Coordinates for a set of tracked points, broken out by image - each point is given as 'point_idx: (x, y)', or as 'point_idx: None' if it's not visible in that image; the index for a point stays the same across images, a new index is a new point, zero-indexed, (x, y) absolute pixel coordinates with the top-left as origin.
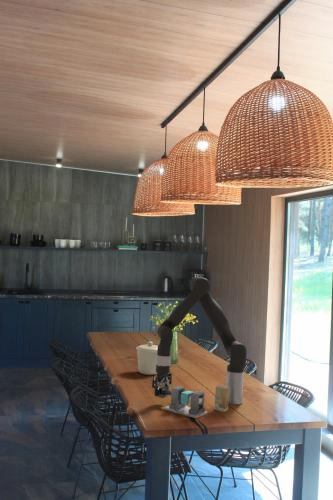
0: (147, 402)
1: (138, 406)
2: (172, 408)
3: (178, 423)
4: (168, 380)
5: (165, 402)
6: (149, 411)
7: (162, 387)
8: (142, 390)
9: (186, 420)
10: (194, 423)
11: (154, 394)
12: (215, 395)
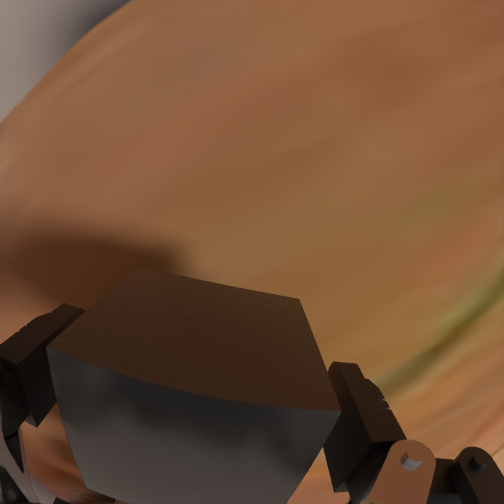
0: (199, 135)
1: (39, 144)
2: None
3: (27, 454)
4: (491, 498)
5: (323, 308)
6: (8, 290)
7: (123, 484)
8: (490, 5)
9: (76, 480)
10: (79, 497)
11: (44, 315)
12: None
